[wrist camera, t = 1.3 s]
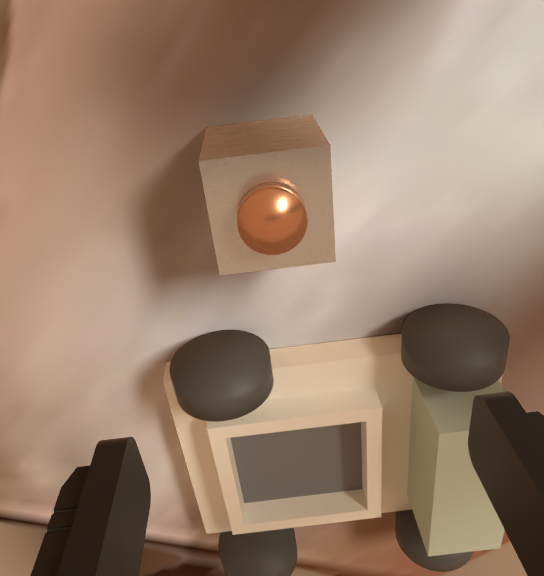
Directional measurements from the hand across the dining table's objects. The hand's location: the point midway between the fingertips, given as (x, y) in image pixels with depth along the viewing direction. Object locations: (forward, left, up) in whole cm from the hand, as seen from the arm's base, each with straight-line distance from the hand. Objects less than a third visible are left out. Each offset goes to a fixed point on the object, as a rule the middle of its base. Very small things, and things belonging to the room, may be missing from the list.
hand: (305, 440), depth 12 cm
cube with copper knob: (0, -1, -18) cm, 18 cm away
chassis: (-3, +19, -18) cm, 27 cm away
